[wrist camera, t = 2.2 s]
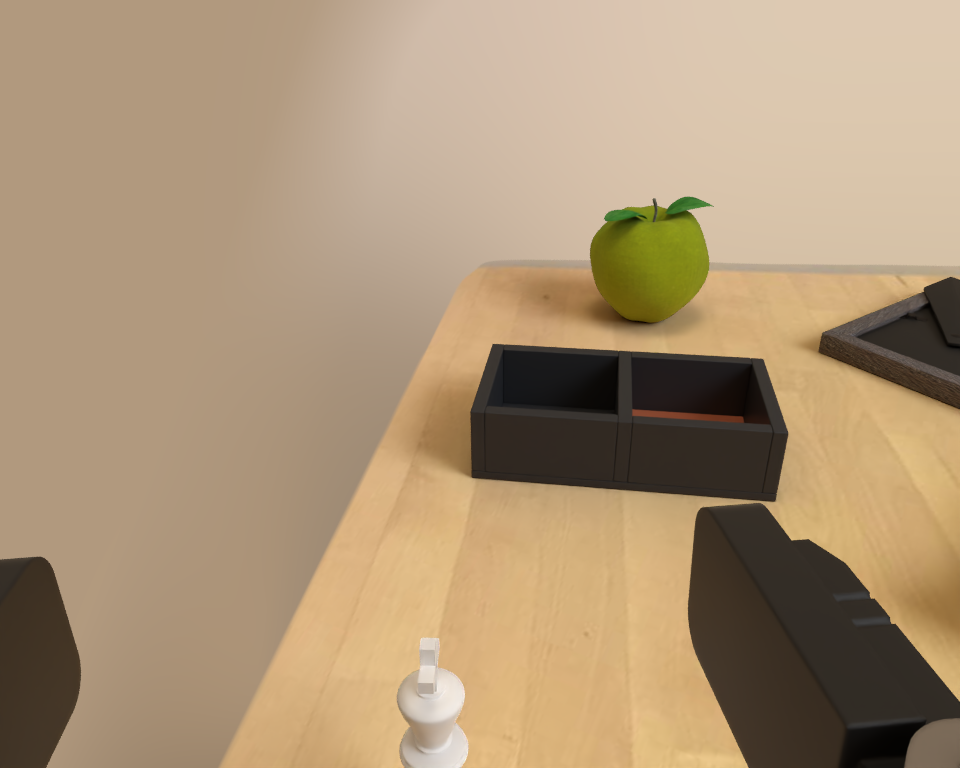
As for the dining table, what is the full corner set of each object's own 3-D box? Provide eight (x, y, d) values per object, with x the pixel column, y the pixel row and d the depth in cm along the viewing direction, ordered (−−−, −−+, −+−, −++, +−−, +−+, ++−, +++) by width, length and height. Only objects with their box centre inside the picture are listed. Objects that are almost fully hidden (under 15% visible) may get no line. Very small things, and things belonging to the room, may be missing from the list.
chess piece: (512, 793, 30) (515, 586, 25) (510, 937, 26) (513, 719, 21) (379, 788, 30) (357, 582, 25) (355, 930, 26) (323, 712, 21)
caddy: (471, 477, 48) (470, 411, 46) (492, 402, 56) (492, 343, 53) (775, 501, 45) (789, 433, 43) (753, 419, 53) (763, 358, 51)
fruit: (720, 332, 65) (737, 210, 60) (608, 342, 64) (617, 218, 59) (676, 291, 73) (688, 180, 68) (576, 299, 72) (581, 186, 67)
